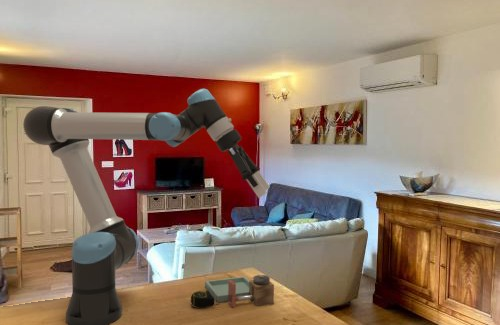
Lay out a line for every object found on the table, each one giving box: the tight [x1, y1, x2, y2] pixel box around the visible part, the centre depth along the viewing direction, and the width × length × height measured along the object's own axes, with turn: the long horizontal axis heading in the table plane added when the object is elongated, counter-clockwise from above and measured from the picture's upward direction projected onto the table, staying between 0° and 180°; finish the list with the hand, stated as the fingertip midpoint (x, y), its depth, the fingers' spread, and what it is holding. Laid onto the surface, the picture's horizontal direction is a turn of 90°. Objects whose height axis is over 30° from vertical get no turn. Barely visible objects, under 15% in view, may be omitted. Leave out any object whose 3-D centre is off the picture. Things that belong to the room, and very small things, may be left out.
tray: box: [204, 276, 251, 304], centre depth 142 cm, size 15×15×2 cm
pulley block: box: [248, 274, 275, 307], centre depth 133 cm, size 6×6×8 cm
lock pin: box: [227, 280, 254, 308], centre depth 132 cm, size 14×4×7 cm, turn 112°
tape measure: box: [190, 290, 216, 309], centre depth 130 cm, size 7×7×4 cm
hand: (265, 192), depth 126 cm, fingers open, 13 cm apart
